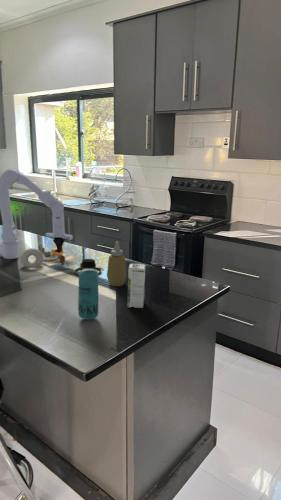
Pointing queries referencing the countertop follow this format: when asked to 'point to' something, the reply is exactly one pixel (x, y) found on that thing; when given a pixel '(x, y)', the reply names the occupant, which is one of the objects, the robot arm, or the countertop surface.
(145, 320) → the countertop surface
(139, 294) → the syrup box
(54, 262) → the board
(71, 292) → the countertop surface
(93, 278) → the beverage bottle
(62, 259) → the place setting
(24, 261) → the donut
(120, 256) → the squeeze bottle
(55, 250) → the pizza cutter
